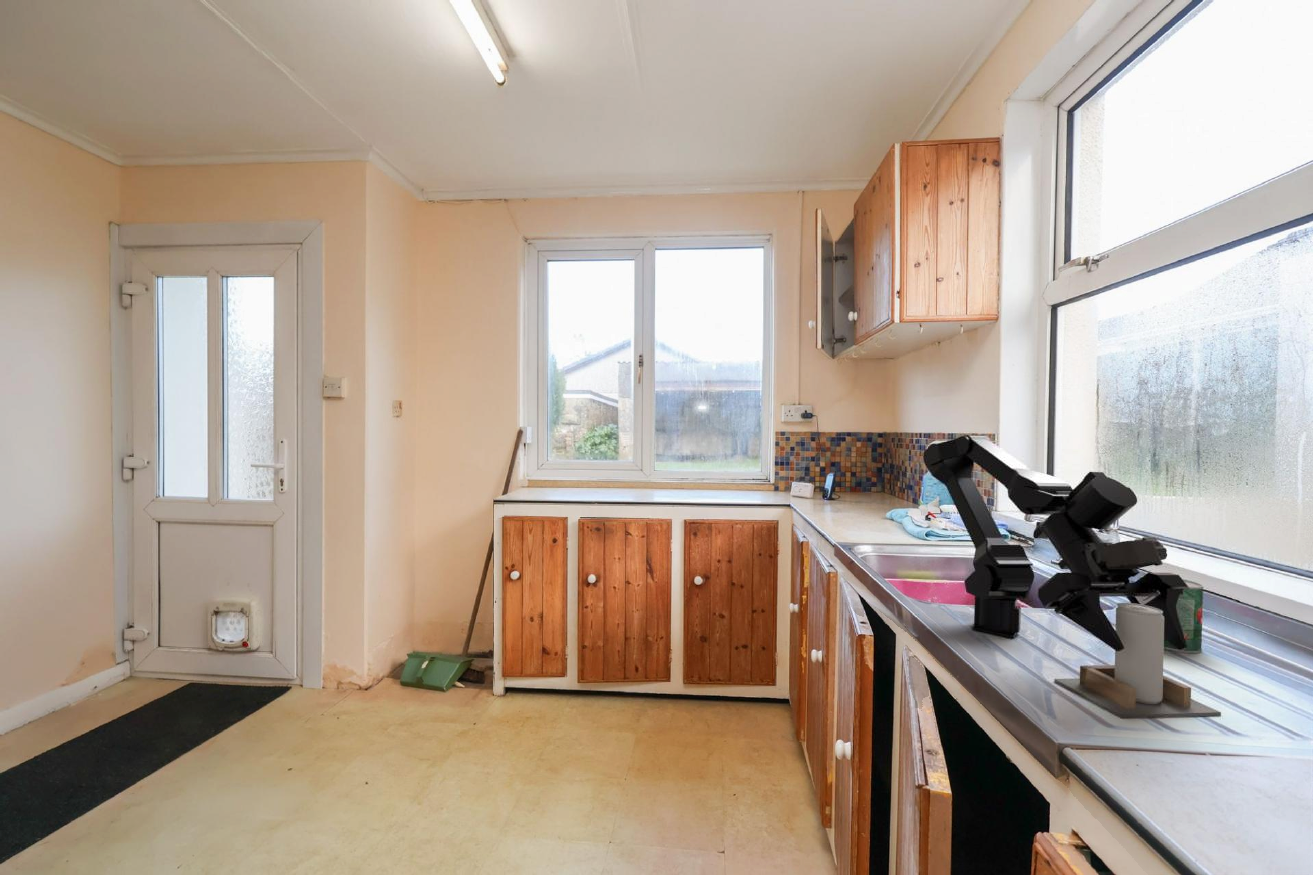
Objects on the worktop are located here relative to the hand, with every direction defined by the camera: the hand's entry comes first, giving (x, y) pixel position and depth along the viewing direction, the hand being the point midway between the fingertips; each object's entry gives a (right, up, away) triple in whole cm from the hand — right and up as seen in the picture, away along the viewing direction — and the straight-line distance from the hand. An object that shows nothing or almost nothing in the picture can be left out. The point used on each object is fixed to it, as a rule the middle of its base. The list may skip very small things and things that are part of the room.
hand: (1152, 649), depth 70 cm
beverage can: (-1, -7, +2) cm, 7 cm away
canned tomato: (+24, -8, +23) cm, 34 cm away
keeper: (0, -7, +1) cm, 8 cm away
